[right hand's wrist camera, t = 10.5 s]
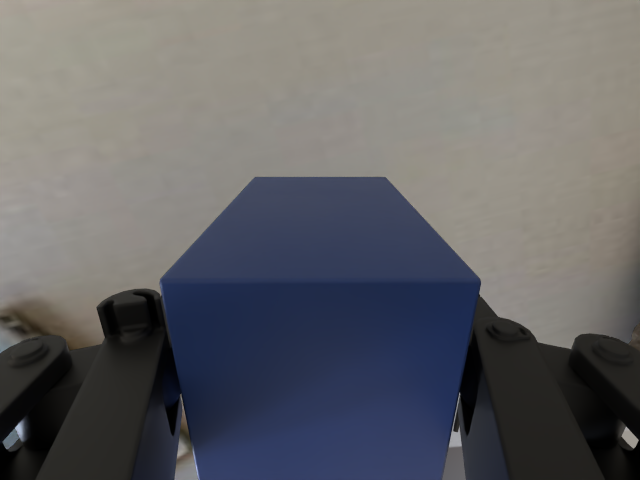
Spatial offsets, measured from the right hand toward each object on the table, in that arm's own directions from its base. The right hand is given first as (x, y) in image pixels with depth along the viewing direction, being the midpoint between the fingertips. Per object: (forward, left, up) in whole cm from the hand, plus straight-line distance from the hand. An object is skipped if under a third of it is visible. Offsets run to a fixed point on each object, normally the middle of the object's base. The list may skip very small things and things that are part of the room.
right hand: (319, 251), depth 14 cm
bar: (0, +12, -1) cm, 12 cm away
